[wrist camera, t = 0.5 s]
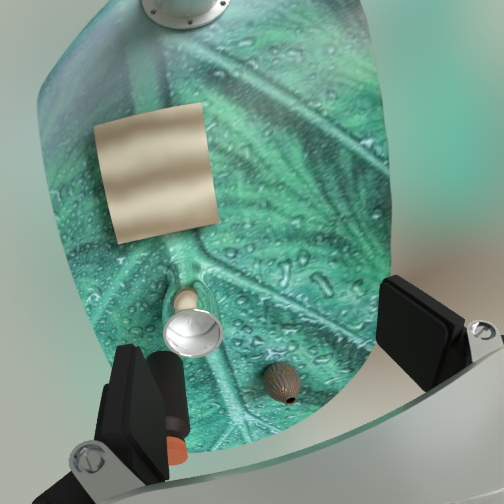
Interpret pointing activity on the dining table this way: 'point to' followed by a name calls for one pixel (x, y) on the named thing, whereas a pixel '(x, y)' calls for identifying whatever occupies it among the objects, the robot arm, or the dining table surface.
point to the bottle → (172, 401)
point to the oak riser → (157, 172)
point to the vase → (282, 382)
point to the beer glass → (190, 311)
